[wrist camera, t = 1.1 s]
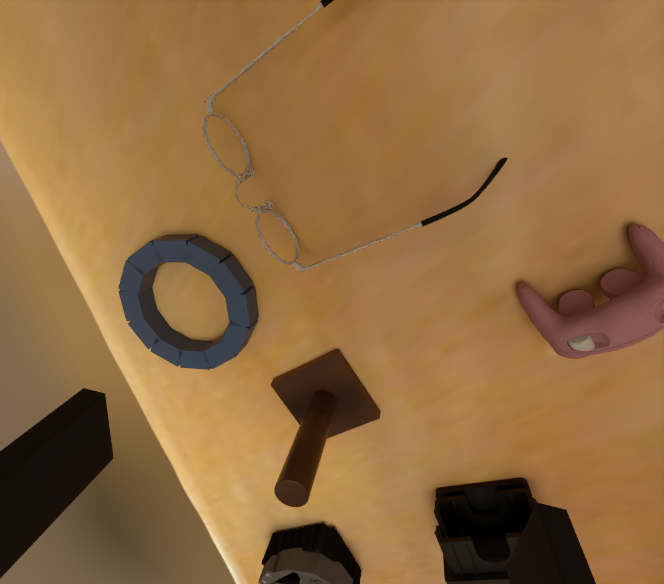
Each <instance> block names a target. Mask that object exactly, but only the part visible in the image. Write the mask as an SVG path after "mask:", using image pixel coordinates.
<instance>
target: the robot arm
mask: <svg viewBox="0 0 664 584" xmlns="http://www.w3.org/2000/svg"><path fill="white" fill-rule="evenodd" d="M112 459H113V451H112V443H111V437H110V428H109V421H108V413H107V405H106V398H105V394H104V393H100V392H97V391H93V390H89V389H84V388H83V389H82V390H81V391H79V392H78V393H77V394H75V395H74V396H73V397H71V398H70V399H69V400H68V401H66V402H65V403H64V404H62V405H61V406H59V407H58V408H57V409H56V410H54V411H53V412H52V413H50V414H49V415H48V416H46V417H45V418H44V419H42V420H41V421H40V422H39V423H37V424H36V425H34V426H33V427H32V428H31V429H29V430H28V431H27V432H25V433H24V434H23V435H21V436H20V437H19V438H17V439H16V440H15V441H14V442H12V443H11V444H9V445H8V446H7V447H5V448H4V449H3V450H2V451H0V578H1V577H2V576H3V575H4V574H5V573H6V572H7V571H8V570H9V569H10V568H11V567H12V565H13V564H14V563H15V562H16V561H17V560H18V559H19V558H20V557H21V556H22V555H23V554H24V553H25V552H26V551H27V549H28V548H29V547H30V546H31V545H32V544H33V543H34V542H35V541H36V540H37V539H38V538H39V536H41V535H42V534H43V533H44V531H45V530H46V529H47V528H48V527H49V526H50V525H51V524H52V523H53V522H54V521H55V520H56V519H57V518H58V517H59V516H60V514H61V513H62V512H63V511H64V510H65V509H66V508H67V507H68V506H69V505H70V504H71V503H72V502H73V501H74V500H75V499H76V497H77V496H78V495H79V494H80V493H81V492H82V491H83V490H84V489H85V488H86V487H87V486H88V484H90V482H91V481H92V480H93V479H94V478H95V477H96V476H97V475H98V474H99V473H100V472H101V471H102V470H103V469H104V468H105V467H106V466H107V465H108V463H109V462H110V461H111V460H112ZM506 568H507V573H508V578H509V583H510V584H596V583H595V580H594V578H593V575H592V573H591V570H590V568H589V565H588V563H587V560H586V558H585V555H584V553H583V550H582V548H581V545H580V543H579V540H578V538H577V535H576V533H575V530H574V528H573V525H572V523H571V520H570V518H569V515H568V513H567V511H566V510H565V509H561V508H557V507H553V506H549V505H545V504H541V503H536V505H535V507H534V509H533V511H532V513H531V515H530V517H529V520H528V522H527V524H526V526H525V528H524V530H523V532H522V534H521V536H520V539H519V541H518V543H517V545H516V547H515V549H514V551H513V553H512V555H511V558H510V560H509V562H508V564H507V566H506Z"/></svg>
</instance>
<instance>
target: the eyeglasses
mask: <svg viewBox="0 0 664 584" xmlns="http://www.w3.org/2000/svg"><path fill="white" fill-rule="evenodd" d="M332 1H333V0H321V2H320V3H319V4H318V5H317V6H316V8H315V9H314V10H313V11H312V12H311V13H310V14H309V15H308V16H306V17H305V18H304V19H303V20H302V21H301V22H299V23H298V24H297V25H296V26H295V27H292V28H291V29H290V30H289V31H287V32H286V33H285V34H284V35H283V36H282V37H280V38H279V39H278V40H277V41H276V42H274V43H273V44H272V45H271V46H270V47H268V48H267V49H266V50H265V51H264V52H263V53H261V54H260V55H259V56H258V57H257V58H255V59H254V60H253V61H252V62H251V63H249V64H248V65H247V66H246V67H245V68H243V69H242V70H241V71H240V72H239V73H238V74H236V75H235V76H234V77H233V78H232V79H230V80H229V81H228V82H227V83H226V84H224V85H223V86H222V87H221V88H220V89H219V90H217V91H216V92H215V93H214V94H213V95H211V96H210V97H209V98H208V99H207V100H205V103H206V105H207V107H206V110H207V112H208V114H209V115H207V116H206V117H205V119H204V121H203V133H204V138H205V141H206V143H207V146H208V148H209V150H210V152H211V154H212V155H213V157H214V158H215V160H216V161H217V162H218V163H219V165H220V166H221V167H222V168H223V169H224V170H226V171H227V172H228V173H230V174H232V175H234V176H237V177H238V178H237V180H236V182H238V183H237V186H236V189H235V198H236V201H237V202H238V203H239V204H240V205H241V206H243V207H246V208H249V209H253V211H252V212H255V213H258V215H257V218H256V228H257V232H258V235H259V238H260V240H261V242H262V243H263V245H264V247H265V248H266V249H267V251H268V252H269V253H270V254H271V255H272V256H273V257H274V258H275V259H276V260H278V261H279V262H281V263H284V264H292V265H293V267H294V268H295V269H298V271H299V272H302V271H305V270H307V269H310V268H312V267H315V266H318V265H320V264H323V263H325V262H328V261H331V260H333V259H336V258H338V257H341V256H344V255H346V254H349V253H351V252H354V251H356V250H359V249H362V248H364V247H367V246H369V245H372V244H375V243H377V242H380V241H382V240H385V239H387V238H390V237H392V236H394V235H397V234H400V233H402V232H405V231H407V230H410V229H413V228H417V227H422V226H425V225H428V224H430V223H433V222H435V221H437V220H439V219H441V218H444V217H446V216H448V215H450V214H452V213H454V212H456V211H458V210H460V209H462V208H464V207H466V206H467V205H469V204H470V203H471V202H473V201H474V200H475V199H476V198H477V197H478V196H479V195H480V194H481V193H482V192H483V191H484V189H485V188H486V187H487V186H488V185H489V184H490V182H491V181H492V180H493V178H494V177H495V176H496V175H497V173H498V172H499V171H500V169H501V168H502V167H503V165H504V164H505V162H506V160H507V158H503V159H501V160H500V161H499V162H498V163H497V165H496V167H495V168H494V170H493V171H492V173H491V174H490V176H489V177H488V178H487V180H486V181H485V182H484V184H483V185H482V186H481V188H480V189H479V190H478V191H477V192H476V193H475V194H474V195H473V196H472V197H471V198H470V199H468V200H466V201H465V202H463V203H461V204H459V205H457V206H455V207H453V208H451V209H449V210H446V211H444V212H442V213H439V214H437V215H435V216H432V217H430V218H428V219H425V220H423V221H421V222H419V223H417V224H416V225H414V226H412V227H410V228H407V229H404V230H402V231H399V232H397V233H394V234H390V235H388V236H385V237H383V238H380V239H378V240H375V241H372V242H370V243H367V244H365V245H362V246H359V247H357V248H354V249H352V250H349V251H346V252H344V253H341V254H339V255H336V256H333V257H331V258H328V259H326V260H323V261H321V262H318V263H315V264H313V265H310V266H307V265H304V266H302V265H301V264H300V263H298V262H297V260H298V258H299V245H298V242H297V239H296V236H295V234H294V233H293V229H292V227H291V226H290V225H289V224H288V222H287V221H286V220H285V219H284V217H283V216H282V215H281V214H279V213H278V212H277V211H276V210H274V209H272V208H270V207H271V206H274V207H275V204H273V203H272V202H270V201H266V200H265V203H266V204H267V205H266V206H257V207H255V208H254V207H249V206H246V205H244V204H242V203H241V202H240V201H239V200H238V197H237V190H238V186H239V184H240V183H242V182H244V181H245V180H246V179H247V178H248V177H249V176H250V175H252V177H251V178H252V179H253V177H254V174H255V168H254V169H253V172H252V171H251V170H252V163H251V157H250V154H249V151H248V148H247V144H246V142H245V140H243V139H242V137H241V135H240V133H239V132H238V130H237V129H236V128H235V126H234V125H233V124H232V123H231V122H230V121H229V120H228V119H227V118H225V117H224V116H222V115H221V114H218V113H215V112H214V105H213V103H214V101H216V97H217V96H218V95H219V94H220V93H222V92H223V91H224V90H225V89H226V88H227V87H229V86H230V85H231V84H232V83H233V82H235V81H236V80H237V79H238V78H239V77H240V76H242V75H243V74H244V73H245V72H246V71H248V70H249V69H250V68H251V67H252V66H254V65H255V64H256V63H257V62H258V61H259V60H261V59H262V58H263V57H264V56H265V55H267V54H268V53H269V52H270V51H271V50H272V49H274V48H275V47H276V46H277V45H278V44H280V43H281V42H282V41H283V40H284V39H286V38H287V37H288V36H289V35H290V34H291V33H293V32H294V31H295V29H296V28H297V27H299V26H300V25H301V24H302V23H303V22H304V21H306V20H307V19H308V18H309V17H310V16H312V15H313V14H314V13H315V12H317V11H319V10H321V9H323V8H325V7H326V6H327V5H328V4H330V3H331V2H332ZM209 116H217V117H219V118H221V119H222V120H224V121H225V122H226V123H227V124H228V125H229V126H230V127H231V128H232V129H233V131H234V132H235V133H236V135H237V136H238V138H239V140H240V143H241V145H242V147H243V149H244V152H245V156H246V169H245V171H244V173H243V174H238V173H235V172H233V171H231V170H230V169H229V168H228V167H226V166H225V165H224V164H223V162H222V161H221V160H220V159H219V157H218V156H217V155H216V153H215V151H214V149H213V147H212V145H211V143H210V141H209V138H208V134H207V119H208V118H209ZM247 172H248V173H247ZM246 174H247V175H246ZM242 175H246V176H245V177H243V176H242ZM261 209H263V211H262V212H261ZM264 209H266V210H264ZM262 213H270V214H272V215H274V216H276V217H277V218H278V219H279V220H280V221H281V222H282V223H283V224H284V225H285V226H286V227H287V229H288V231H289V232H290V234H291V235H292V237H293V240H294V242H295V246H296V258H295V260H294V261H293V262H287V261H285V260H283V259H281V258H279V257H278V256H277V255H276V254H275V253H274V252H273V251H272V250H271V249H270V247H269V246H268V245H267V243H266V241H265V240H264V238H263V235H262V233H261V230H260V225H259V218H260V215H261V214H262Z"/></svg>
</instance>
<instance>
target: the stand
mask: <svg viewBox="0 0 664 584" xmlns="http://www.w3.org/2000/svg"><path fill="white" fill-rule="evenodd" d="M271 386H272V387H273V389H274V390H275V392H276V393H277V394H278V396H279V397H280V398H281V400H282V401H283V402H284V404H285V405H286V407H287V408H288V409H289V411H290V412H291V413H292V415H293V416H294V418H295V419H296V420H297V422H298V423H299V424H300V427H299V429H298V432H297V434H296V436H295V439H294V441H293V444H292V446H291V449H290V451H289V454H288V456H287V458H286V461H285V463H284V466H283V468H282V471H281V473H280V476H279V478H278V480H277V483H276V485H275V489H274V490H275V495H276V497H277V498H278V499H279V500H280V501H281V502H282V503H284V504H285V505H288V506H291V507H300V506H303V505H305V504H306V503H307V501H308V499H309V496H310V492H311V489H312V486H313V482H314V479H315V476H316V472H317V469H318V466H319V463H320V459H321V456H322V453H323V449H324V446H325V443H326V439H327V438H329V437H332V436H335V435H337V434H340V433H342V432H345V431H348V430H350V429H353V428H356V427H358V426H361V425H363V424H366V423H369V422H371V421H374V420H377V419H379V418H380V411H379V409H378V408H377V406H376V405H375V403H374V402H373V400H372V399H371V397H370V396H369V394H368V393H367V391H366V390H365V388H364V387H363V385H362V384H361V382H360V381H359V379H358V378H357V376H356V375H355V373H354V372H353V370H352V369H351V367H350V366H349V364H348V363H347V361H346V360H345V358H344V357H343V355H342V354H341V352H340V351H339V349H336V350H334V351H332V352H330V353H328V354H326V355H323V356H321V357H319V358H317V359H315V360H313V361H311V362H309V363H307V364H304V365H302V366H300V367H298V368H296V369H294V370H292V371H290V372H288V373H286V374H283V375H281V376H279V377H277V378H275V379H273V381H272V383H271Z"/></svg>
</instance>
